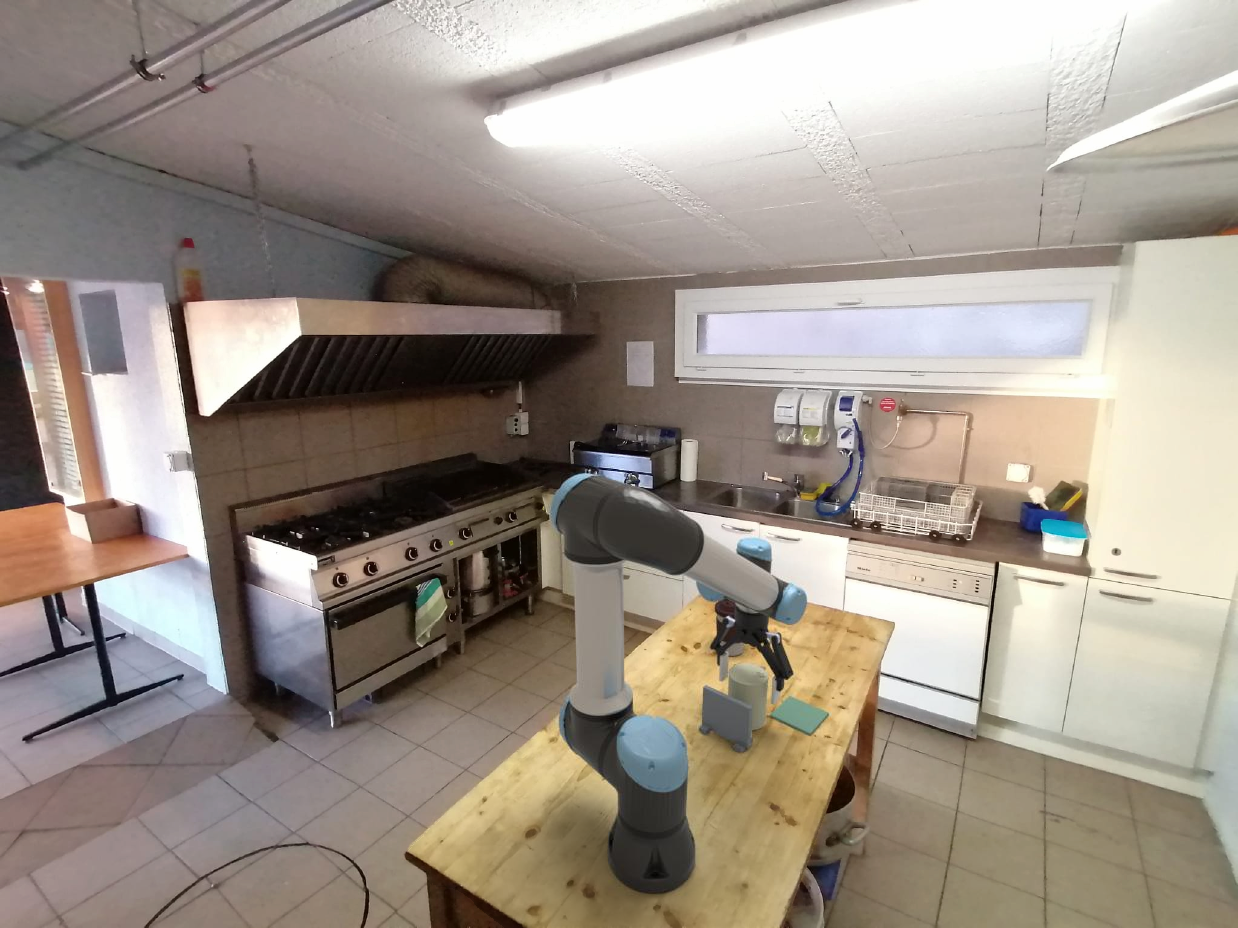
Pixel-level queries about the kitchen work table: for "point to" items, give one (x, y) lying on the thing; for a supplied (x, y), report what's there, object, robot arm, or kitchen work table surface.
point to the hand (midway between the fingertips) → (748, 689)
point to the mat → (799, 715)
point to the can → (750, 689)
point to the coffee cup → (722, 611)
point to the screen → (727, 718)
